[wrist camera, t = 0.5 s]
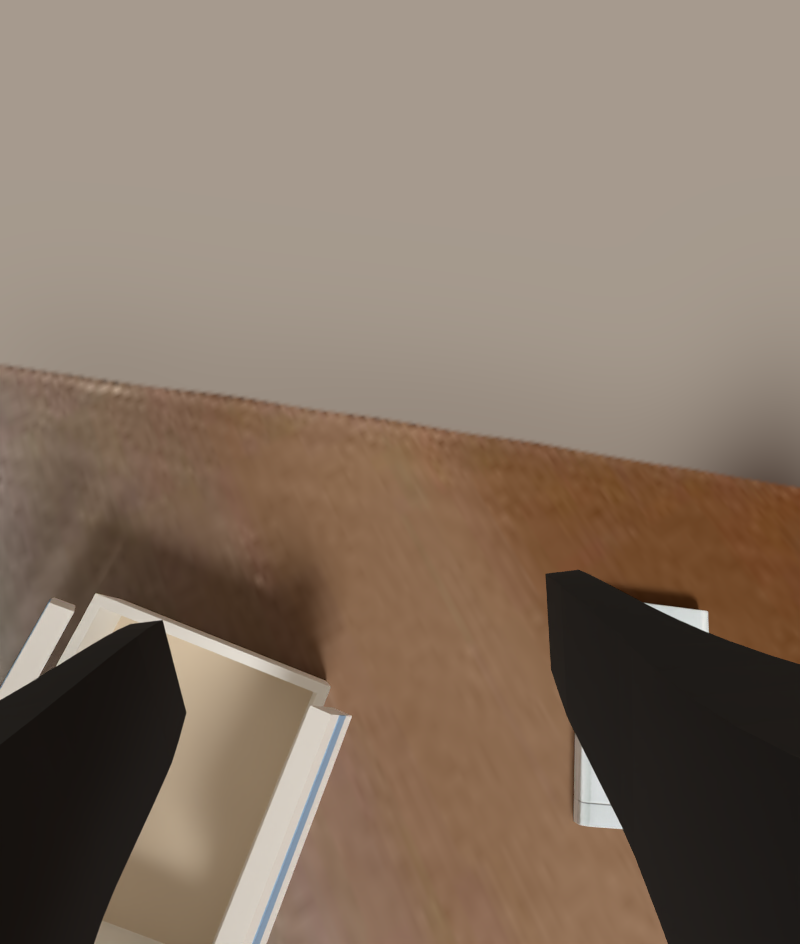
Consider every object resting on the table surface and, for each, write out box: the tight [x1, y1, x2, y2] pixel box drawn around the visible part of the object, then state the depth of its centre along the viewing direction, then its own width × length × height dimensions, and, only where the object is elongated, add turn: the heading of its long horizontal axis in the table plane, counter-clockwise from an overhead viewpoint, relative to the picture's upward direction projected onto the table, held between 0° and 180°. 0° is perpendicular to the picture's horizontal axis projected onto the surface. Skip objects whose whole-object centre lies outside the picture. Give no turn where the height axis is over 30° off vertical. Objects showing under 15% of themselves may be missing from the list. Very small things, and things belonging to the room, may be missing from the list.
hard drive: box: [574, 603, 709, 829], centre depth 35 cm, size 2×8×12 cm
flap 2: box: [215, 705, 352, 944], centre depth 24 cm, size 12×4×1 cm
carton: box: [56, 593, 331, 944], centre depth 28 cm, size 14×12×4 cm
